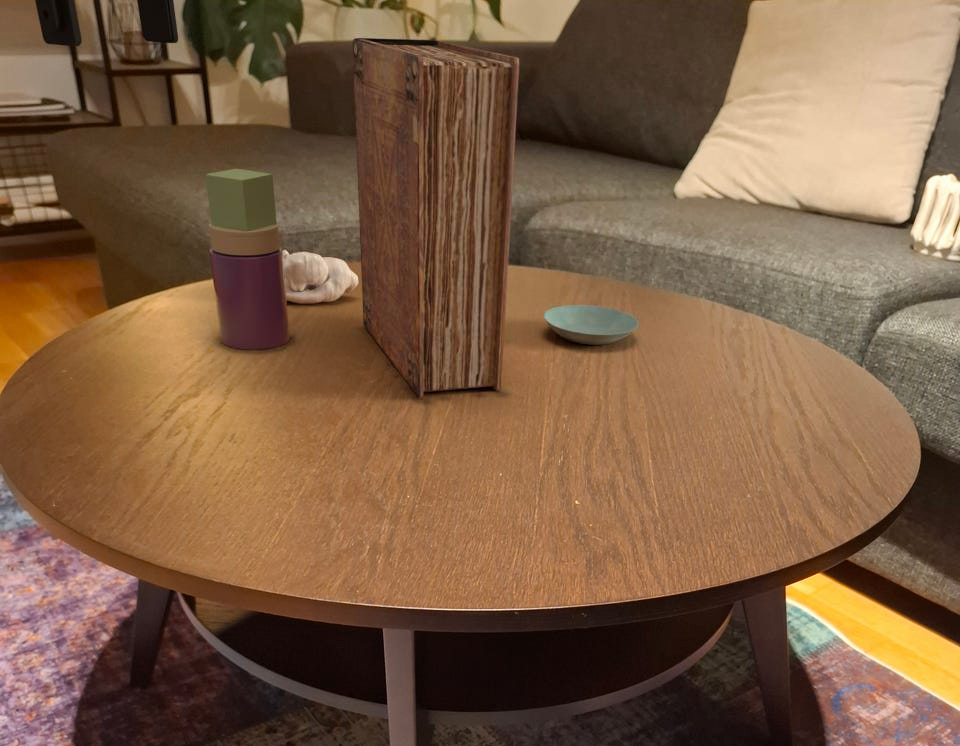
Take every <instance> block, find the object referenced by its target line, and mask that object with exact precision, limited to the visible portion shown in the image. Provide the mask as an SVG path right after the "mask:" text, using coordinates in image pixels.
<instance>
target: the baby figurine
mask: <svg viewBox="0 0 960 746" xmlns="http://www.w3.org/2000/svg"><path fill="white" fill-rule="evenodd" d="M282 250H283V262H284V274H285V286H286V298H287V302H288V301H289V302H291V303H295V304H302V305H304V304H306V305H307V304H318V303H321V302H323V303H330V302H334V301H336V300H338V299H339V298H340V297H341V296H343V295H346V294H349V293H350V292H352V291H353V290H355V288H357V286H358V285H359V277H358V274H356V273H355V272H354V271H352V269H351V268H350V267H349V266H348V264H347V262H346V261H344V260H343V259H341V258H337V257H330V256H329V257H327V256H326V257H325V256H324V257H322V255H320V254H317V253H312V252H309V251H298V252H293V253H289V251H287V249H282Z"/></svg>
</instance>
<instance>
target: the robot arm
mask: <svg viewBox="0 0 960 746" xmlns="http://www.w3.org/2000/svg"><path fill="white" fill-rule="evenodd" d="M34 1H35V7H36V11H37V12H36V13H37V15H38V22H39V26H40V31H41V35H42V39H43V41H44V43H45V44H46V45H55V46H64V47H65V46H67V47H79V46H81V44H82V42H83V38H82V33H81V29H80V22H79V17H78V11H77V7H76V1H75V0H34ZM174 1H175V0H136V2H137V9H138V16H139V22H140V29H141V35H142V38H143V39H144V40H145V41H146V42H152V43H153V42H154V43H164V44H177V43H178V42H179V34H178V26H177V25H178V24H177V17H176V11H175V2H174Z"/></svg>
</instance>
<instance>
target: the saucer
mask: <svg viewBox="0 0 960 746" xmlns="http://www.w3.org/2000/svg"><path fill="white" fill-rule="evenodd" d="M543 320H544V321H545V322H546V324H547V325H548V326H549V328H551V329H552V330H553V331H554V332H555V333H556V334H557V335H558V336H560V337H562V338H563V339H566V340H567V341H569V342H573V343H576V344H580V345H589V346H591V345H592V346H602V345H610V344H613V343H616V342H618V341H621V340H622V339H624V338H626V337H627V336H629V335H631V334H632V333H633V332H634V331H636V329H637V328H638V327H639V326H640V323H639V320H638V319H637V318H636V317H634V316H633V315H631V314H630V313H627V312H624V311H621V310H620V309H619V310H618V309H615V308H611V307H605V306H599V305H589V304H567V305H559V306H555V307H551V308H549V309H547V310H546V311H545V312H544V313H543Z"/></svg>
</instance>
